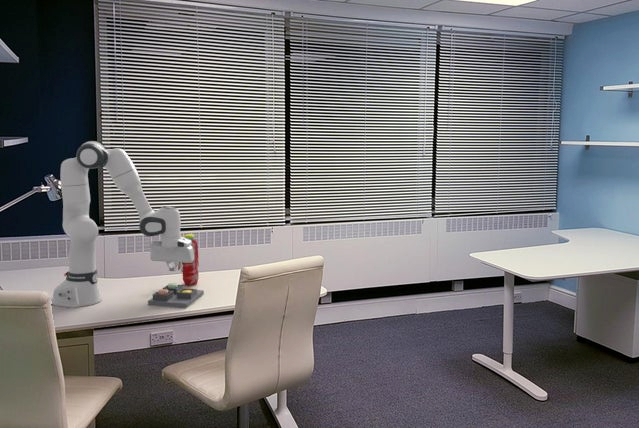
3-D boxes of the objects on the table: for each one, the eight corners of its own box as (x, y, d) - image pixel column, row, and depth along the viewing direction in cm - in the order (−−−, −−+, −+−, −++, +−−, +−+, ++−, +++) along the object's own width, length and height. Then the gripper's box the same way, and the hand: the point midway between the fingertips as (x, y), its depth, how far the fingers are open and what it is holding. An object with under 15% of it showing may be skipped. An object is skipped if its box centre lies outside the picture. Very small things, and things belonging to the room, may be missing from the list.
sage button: (166, 289, 271) (166, 285, 271) (170, 286, 276) (170, 282, 275) (175, 290, 271) (175, 285, 270) (179, 287, 275) (179, 283, 274)
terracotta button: (156, 296, 262) (156, 291, 261) (160, 293, 266) (160, 288, 266) (165, 296, 261) (165, 292, 260) (170, 293, 265) (169, 289, 265)
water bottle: (173, 284, 291) (171, 234, 287) (181, 280, 299) (180, 231, 295) (194, 287, 288) (193, 236, 283) (202, 282, 295) (201, 233, 291)
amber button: (180, 296, 265) (180, 292, 265) (184, 294, 269) (184, 289, 269) (189, 297, 264) (189, 293, 264) (193, 294, 269) (193, 290, 268)
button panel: (148, 305, 260) (147, 295, 259) (167, 292, 279) (167, 282, 279) (186, 307, 257) (186, 298, 256) (203, 294, 276) (203, 285, 275)
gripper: (147, 242, 268) (148, 271, 270) (189, 243, 264) (190, 273, 267) (153, 239, 274) (154, 268, 277) (195, 240, 271) (196, 270, 273)
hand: (172, 270), depth 272 cm, fingers closed
